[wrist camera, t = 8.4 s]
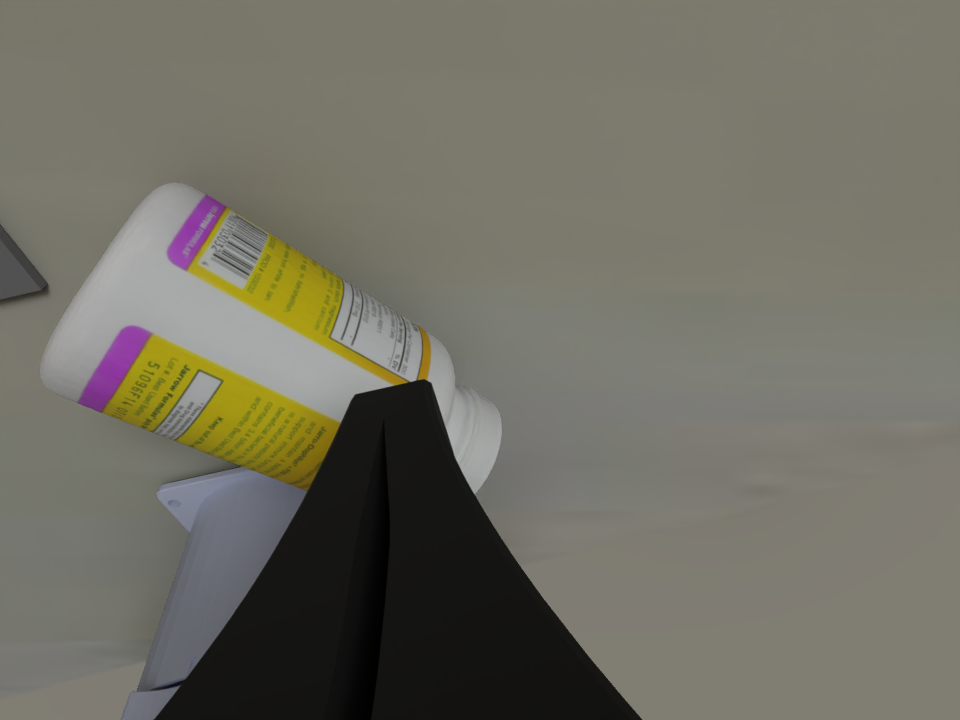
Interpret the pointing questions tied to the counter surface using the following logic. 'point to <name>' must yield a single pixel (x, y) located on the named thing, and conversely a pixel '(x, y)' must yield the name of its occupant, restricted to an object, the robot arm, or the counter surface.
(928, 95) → the counter surface
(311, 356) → the supplement bottle
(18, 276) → the mat
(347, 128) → the counter surface
